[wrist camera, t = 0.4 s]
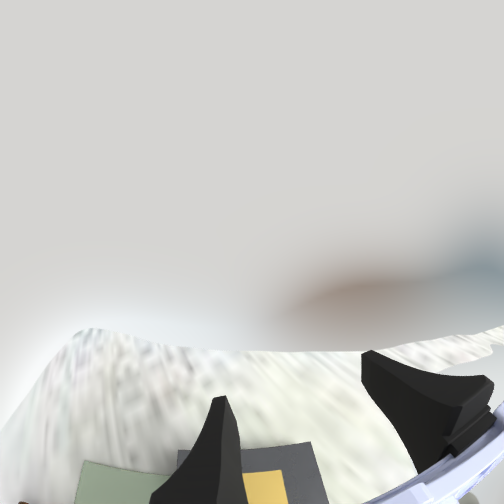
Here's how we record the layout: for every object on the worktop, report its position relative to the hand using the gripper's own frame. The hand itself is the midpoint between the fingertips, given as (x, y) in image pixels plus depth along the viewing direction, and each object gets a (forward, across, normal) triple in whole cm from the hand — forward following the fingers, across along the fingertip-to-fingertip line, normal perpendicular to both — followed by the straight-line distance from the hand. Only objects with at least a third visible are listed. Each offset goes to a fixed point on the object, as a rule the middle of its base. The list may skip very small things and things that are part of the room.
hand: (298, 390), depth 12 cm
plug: (+1, +6, +18) cm, 20 cm away
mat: (+1, +20, +16) cm, 25 cm away
